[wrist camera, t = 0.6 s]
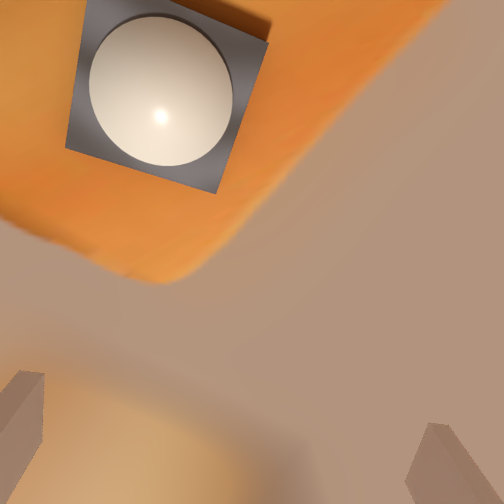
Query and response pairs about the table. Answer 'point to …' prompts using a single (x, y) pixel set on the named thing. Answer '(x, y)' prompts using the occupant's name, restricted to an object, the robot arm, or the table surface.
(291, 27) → the table surface
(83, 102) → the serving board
